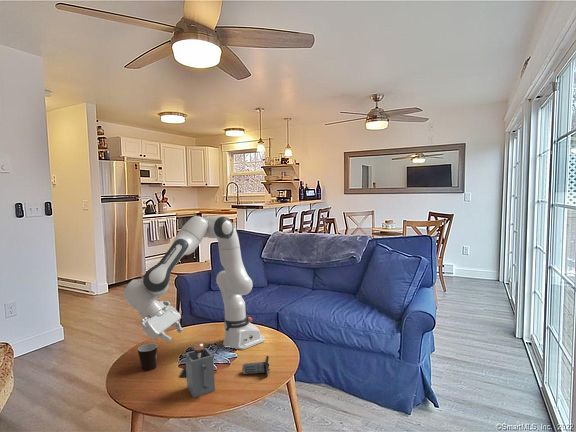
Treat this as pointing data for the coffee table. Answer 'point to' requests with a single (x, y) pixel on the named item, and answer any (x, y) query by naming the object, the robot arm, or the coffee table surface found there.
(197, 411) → the coffee table surface
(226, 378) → the coffee table surface
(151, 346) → the coffee mug
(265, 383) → the coffee table surface
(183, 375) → the phone
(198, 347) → the ball-topped press plunger
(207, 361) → the box
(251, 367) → the beverage can
